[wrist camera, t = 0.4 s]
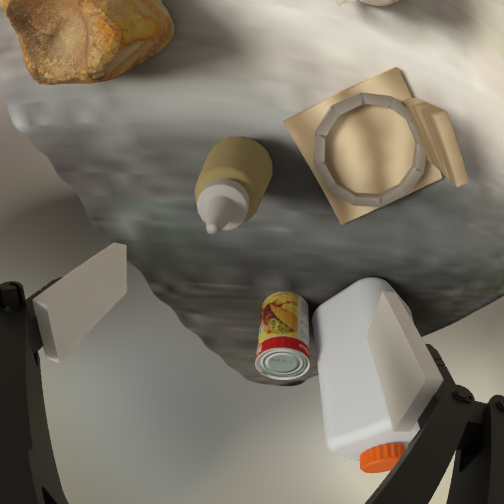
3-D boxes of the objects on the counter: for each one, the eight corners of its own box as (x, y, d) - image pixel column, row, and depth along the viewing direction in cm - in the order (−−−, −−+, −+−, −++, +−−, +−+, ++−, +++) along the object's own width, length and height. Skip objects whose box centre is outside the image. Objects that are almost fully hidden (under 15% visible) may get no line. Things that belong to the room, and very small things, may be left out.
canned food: (253, 302, 54) (244, 358, 44) (293, 284, 51) (293, 342, 41) (277, 329, 57) (273, 384, 47) (316, 314, 54) (318, 371, 44)
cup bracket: (340, 221, 44) (352, 269, 35) (283, 121, 37) (281, 143, 28) (439, 175, 38) (475, 212, 29) (395, 67, 31) (431, 72, 22)
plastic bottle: (351, 351, 59) (361, 486, 36) (301, 312, 54) (298, 471, 31) (416, 313, 52) (455, 454, 29) (374, 264, 47) (416, 433, 24)
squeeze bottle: (286, 167, 40) (284, 242, 25) (237, 198, 43) (208, 283, 29) (249, 117, 37) (220, 160, 22) (199, 152, 40) (146, 216, 25)
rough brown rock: (28, 37, 31) (-44, 59, 20) (82, -52, 22) (7, -60, 11) (123, 113, 39) (59, 156, 28) (196, 21, 30) (141, 19, 19)
